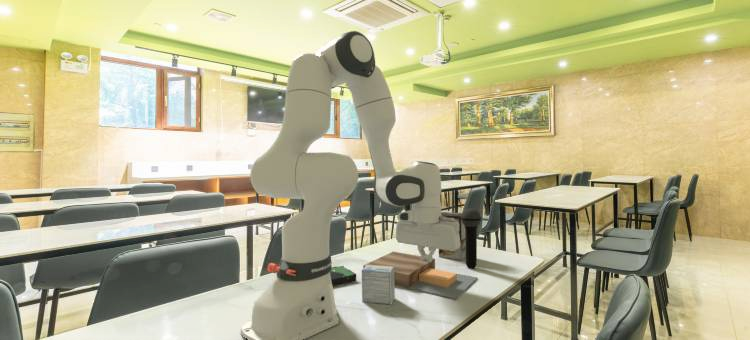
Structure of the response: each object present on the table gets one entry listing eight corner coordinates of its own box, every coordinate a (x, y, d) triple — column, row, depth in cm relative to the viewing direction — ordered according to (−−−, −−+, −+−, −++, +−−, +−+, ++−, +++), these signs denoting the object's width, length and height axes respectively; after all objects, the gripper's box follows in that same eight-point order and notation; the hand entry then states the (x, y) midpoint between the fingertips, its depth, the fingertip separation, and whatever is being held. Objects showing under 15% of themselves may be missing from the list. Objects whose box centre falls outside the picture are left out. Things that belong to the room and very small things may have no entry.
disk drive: (310, 293, 97) (357, 282, 104) (310, 284, 96) (356, 273, 104) (298, 282, 105) (342, 272, 113) (298, 273, 105) (342, 264, 113)
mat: (455, 299, 90) (455, 298, 90) (408, 288, 97) (408, 287, 97) (477, 278, 104) (477, 277, 104) (435, 270, 112) (435, 269, 112)
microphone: (481, 271, 111) (481, 210, 110) (460, 270, 112) (460, 209, 112) (481, 265, 117) (480, 207, 116) (461, 264, 119) (460, 206, 118)
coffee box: (467, 256, 128) (467, 213, 127) (461, 260, 123) (461, 216, 122) (444, 252, 133) (443, 211, 132) (437, 256, 127) (437, 214, 127)
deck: (408, 288, 97) (408, 274, 97) (363, 278, 106) (363, 265, 106) (435, 270, 112) (434, 258, 112) (393, 262, 121) (393, 251, 121)
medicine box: (395, 298, 91) (394, 266, 91) (391, 305, 87) (390, 271, 86) (366, 295, 93) (366, 264, 93) (361, 302, 89) (361, 269, 89)
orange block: (447, 287, 97) (447, 280, 97) (419, 281, 102) (418, 274, 102) (456, 280, 103) (456, 273, 102) (429, 274, 108) (429, 268, 108)
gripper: (463, 217, 99) (463, 264, 99) (403, 211, 111) (403, 253, 112) (454, 220, 94) (454, 270, 94) (392, 213, 106) (393, 258, 107)
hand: (426, 261), depth 103 cm, fingers closed
